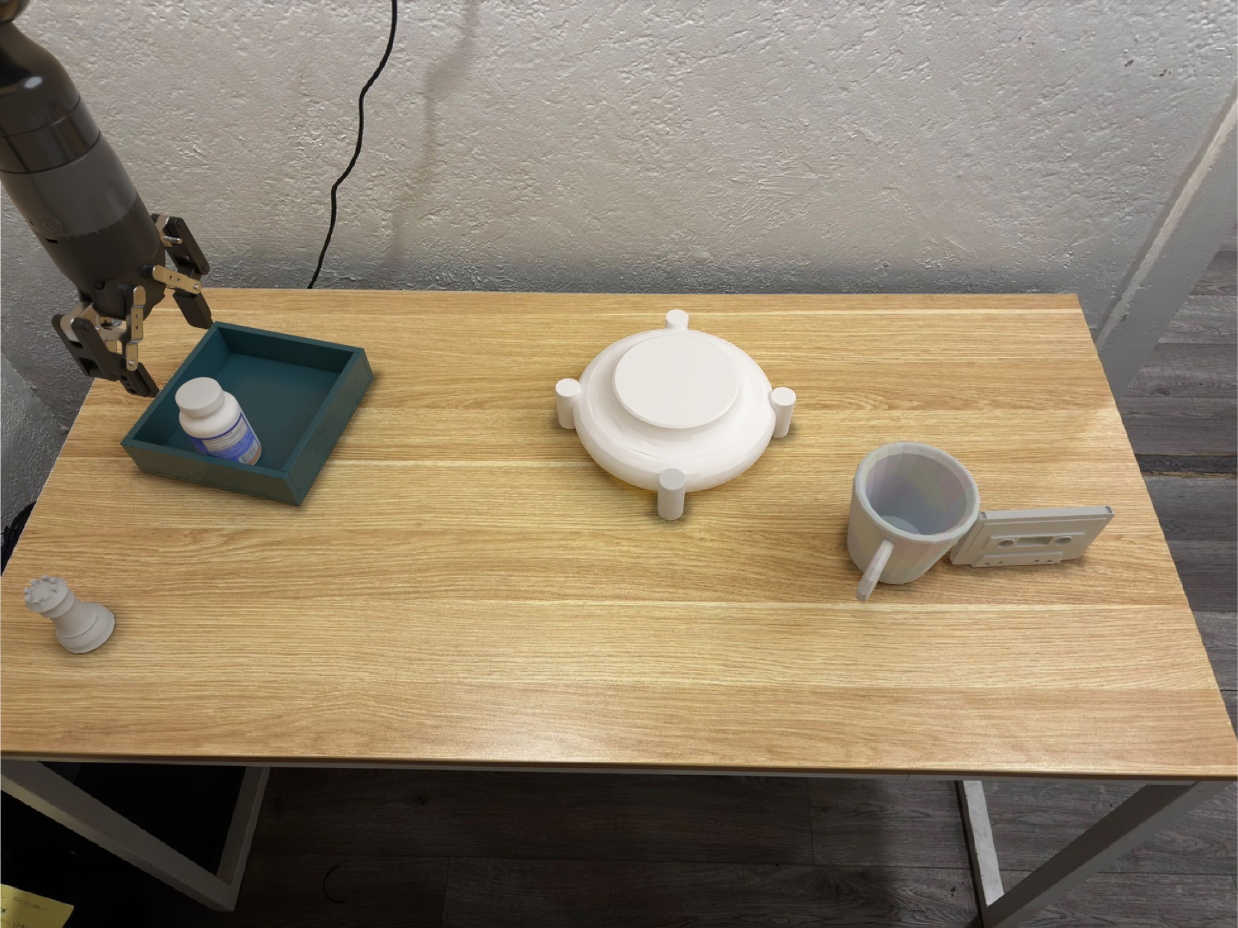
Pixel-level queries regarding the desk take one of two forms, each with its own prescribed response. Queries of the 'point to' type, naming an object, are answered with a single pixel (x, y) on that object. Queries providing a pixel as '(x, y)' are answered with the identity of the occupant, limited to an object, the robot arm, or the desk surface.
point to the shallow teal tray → (258, 410)
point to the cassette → (1030, 536)
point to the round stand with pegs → (674, 411)
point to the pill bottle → (216, 422)
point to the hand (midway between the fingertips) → (176, 358)
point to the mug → (907, 512)
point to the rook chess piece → (70, 614)
